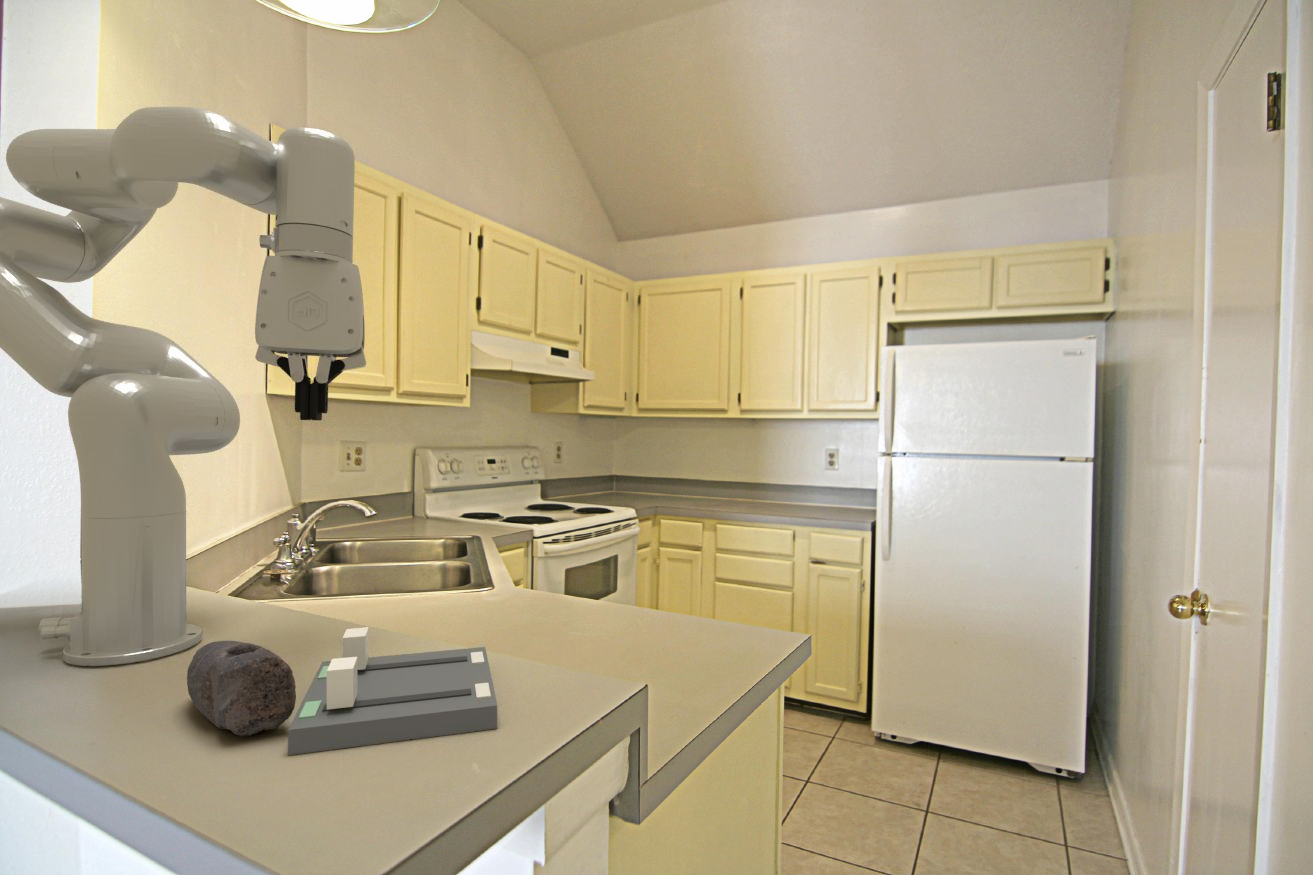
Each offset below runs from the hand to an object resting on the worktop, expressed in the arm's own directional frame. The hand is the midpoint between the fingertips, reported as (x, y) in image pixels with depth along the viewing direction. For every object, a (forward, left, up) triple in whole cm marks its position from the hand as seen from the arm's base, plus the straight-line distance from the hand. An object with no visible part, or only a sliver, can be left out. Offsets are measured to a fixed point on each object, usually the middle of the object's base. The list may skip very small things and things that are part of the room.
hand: (311, 419), depth 73 cm
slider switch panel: (+10, -14, -27) cm, 32 cm away
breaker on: (+6, -10, -24) cm, 27 cm away
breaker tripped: (+6, -19, -24) cm, 31 cm away
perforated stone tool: (-4, -14, -27) cm, 30 cm away
